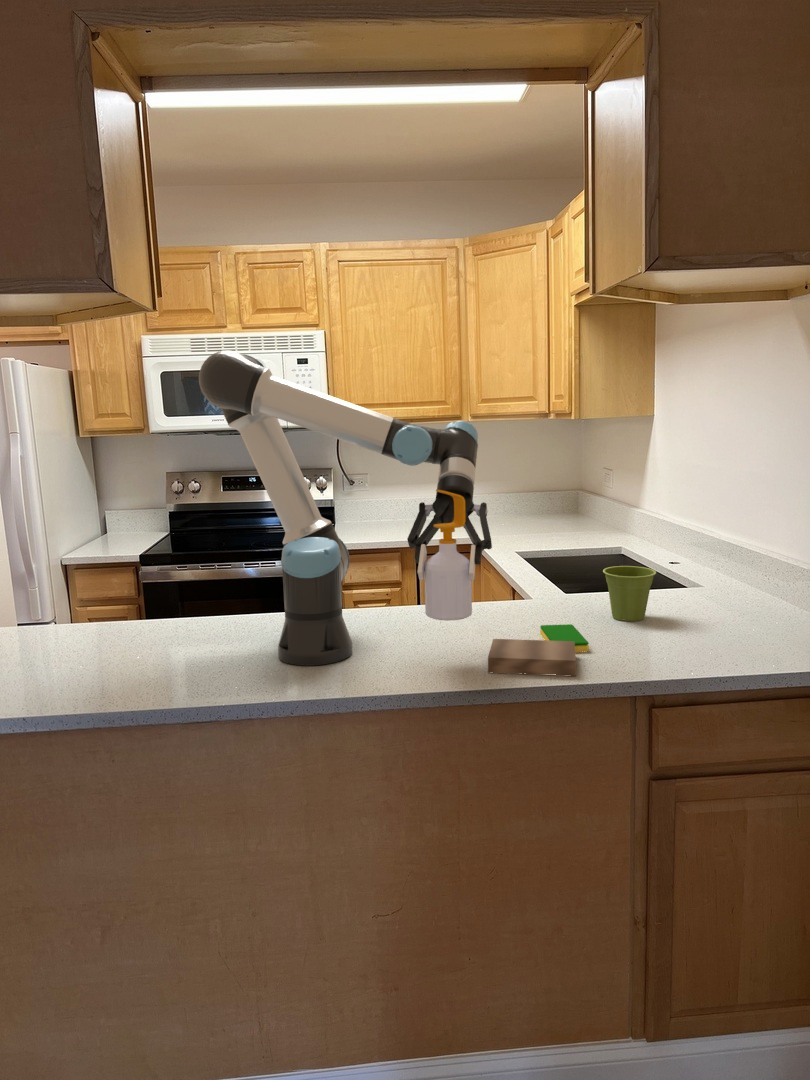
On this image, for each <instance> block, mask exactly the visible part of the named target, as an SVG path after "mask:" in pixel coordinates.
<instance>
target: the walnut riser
mask: <svg viewBox="0 0 810 1080" xmlns="http://www.w3.org/2000/svg"><path fill="white" fill-rule="evenodd" d="M576 669H577V657H576V653H575V643H574V641H547V640H544V639H542V640H541V639H539V640H537V639H512V638H511V639H510V638H509V639H508V638H493V639H492V642H491V645H490V649H489V653H488V656H487V673H488V672H493V673H492V674H503V673H522V674H521V675H528V674H556V675H571V676H570V677H576V676H577V670H576ZM524 673H526V674H524Z"/></svg>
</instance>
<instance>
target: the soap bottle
mask: <svg viewBox="0 0 810 1080" xmlns="http://www.w3.org/2000/svg"><path fill="white" fill-rule="evenodd" d="M435 492H440V493H444V494H447V495H450V496H452V497H453V500H454V520H453V522H452V523H444V524H434V527H436V528H439V529H440V533H443V534H442V535H443V536H442V537H443V538H440V539H439V540H438V543H439V544H438V545H439V546H438V552H436V553H435V554H433V555H432V556H430V557H429V558H428V559H426V563H425V571H424V608H425V609H424V610H425V612H424V614H425V615H426V616H427V617H428V618H430V619H433V620H436V621H437V620H438V621H459V620H464V619H467V618H469V617H471V616H472V614H473V590H472V589H473V588H472V587H473V581H470V577H469V566H470V559H468V558H467V557H466V556H465V555H463V554H461V553H460V552H459V551H458V550H457V539H456V538H453V533H454V532H455V531H456V530H455V529H457V528H464V527H463V526H464V524H465V499H464V497H463V496H461V495H458V494H454V493H451V492H447V491H443V490H438V489H437V488H436V490H435Z"/></svg>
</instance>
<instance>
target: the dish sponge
mask: <svg viewBox="0 0 810 1080" xmlns="http://www.w3.org/2000/svg"><path fill="white" fill-rule="evenodd" d="M539 629H540V634H539V635H540V636H541V635H542V636H541V637H542V639H543V638H544V639H545V640H547V641H574V643H575V652H576V653H587V652H586V651H588V652H589V643H590V642H589V641H588V640H587V639H586V638H585V637H584V636H583V634H581V632H580V631H579V630H578V629H577V628H576V627H575V626H574V624H572V623H571V624H542V625H540V626H539ZM544 639H543V640H544ZM582 651H583V652H582ZM584 651H585V652H584Z"/></svg>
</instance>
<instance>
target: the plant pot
mask: <svg viewBox="0 0 810 1080" xmlns="http://www.w3.org/2000/svg"><path fill="white" fill-rule="evenodd" d="M602 572H603V574H605V575H604V576H605V580H606V581H605V582H606V583H607V589H608V595H609V601H610V602H609V603H610V609H611V616H612V618H613V619H615V620H616V621H627V622H640V621H642V620H644V619H645V616H646V611H647V607H648V606H647V605H648V601H649V596H650V591H651V586H652V584H653V580H654V576H655V575H656V574H657V571H656V570H655V569H652V568H649V567H643V566H633V565H619V566H617V565H616V566H609V567H605V568H604V569H603V570H602Z"/></svg>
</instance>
